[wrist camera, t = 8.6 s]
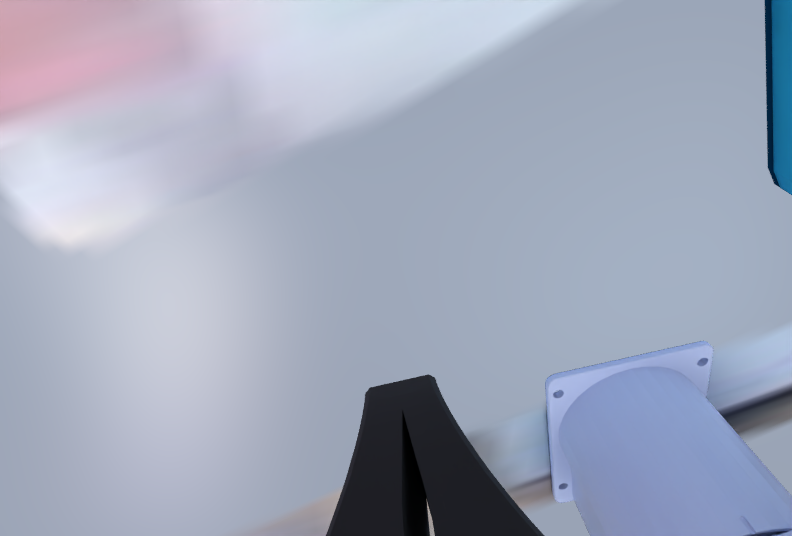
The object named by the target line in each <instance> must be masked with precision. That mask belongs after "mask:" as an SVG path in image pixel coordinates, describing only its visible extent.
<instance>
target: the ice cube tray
mask: <svg viewBox="0 0 792 536" xmlns="http://www.w3.org/2000/svg"><path fill="white" fill-rule="evenodd" d="M765 46H766V47H765V48H766V49H765V50H766V104H767V154H768V155H767V156H768V169H769V172H770V174H771V177H772V179H773V182H774V184H775V185H777V186H778V187H780V188H782V189H783V190H785V191H786V192H788V193H789V194H791V195H792V0H765Z"/></svg>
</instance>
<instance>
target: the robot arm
mask: <svg viewBox="0 0 792 536" xmlns="http://www.w3.org/2000/svg"><path fill="white" fill-rule="evenodd" d="M713 352H714V350H713V347H712V346H711V345H710V344H709V343H708V342H706V341H700V342H695V343H691V344H686V345H682V346H677V347H673V348H668V349H664V350H659V351H655V352H650V353H646V354H641V355H637V356H633V357H628V358H624V359H619V360H615V361H610V362H606V363H601V364H597V365H592V366H588V367H583V368H579V369H574V370H570V371H566V372H561V373H557V374H553V375H551V376H549V377H548V378H547V380H546V382H545V389H546V404H547V418H548V433H549V447H550V462H551V476H552V491H553V496H554V498H555V501H557V502H559V503H565V502H569V501H575V503H576V505H577V508H578V510H579V512H580V514H581V517H582V519H583V521H584V523H585V525H586V528H587V530H588V532H589V534H590V536H792V496H791V495H790V494H789V493H788V491H787V490H786V489H785V488H784V487H783V486H782V485H781V483H780V482H779V481H778V480H777V479H776V477H775V476H774V475H773V474H772V473H771V472H770V471H769V469H768V468H767V467H766V466H765V465H764V464H763V463H762V461H761V460H760V459H759V458H758V457H757V456H756V455H755V453H754V452H753V451H752V450H751V449H750V448H749V447H748V445H747V444H746V443H745V442H744V441H743V440H742V438H741V437H740V436H739V435H738V434H737V433H736V432H735V430H734V429H733V428H732V427H731V426H730V425H729V424H728V422H727V421H726V420H725V419H724V418H723V417H722V416H721V414H720V413H719V412H718V411H717V410H716V409H715V408H714V406H713V405H712V404H711V403H710V402H709V401H708V400H707V392H708V385H709V378H710V372H711V365H712V358H713ZM557 390H559V391H558V392H555V391H557ZM426 498H427V500H426ZM427 502H428V506H429V509H430V513H431V516H432V520H433V526H434V532H435V536H544V535H543V534H542V533H541V532H540V531H539V529H538V528H537V527H536V526H535V525H534V524H533V523H532V522H531V520H530V519H529V518H528V517H527V516H526V515H525V514H524V512H523V511H522V510H521V509H520V508H519V507H518V505H517V504H516V503H515V502H514V501H513V499H512V498H511V497H510V496H509V495H508V493H507V492H506V491H505V489H504V488H503V487H502V486H501V484H500V483H499V482H498V481H497V479H496V478H495V477H494V476H493V474H492V473H491V472H490V470H489V469H488V468H487V466H486V465H485V463H484V462H483V461H482V459H481V458H480V457H479V455H478V454H477V452H476V451H475V449H474V448H473V446H472V445H471V443H470V442H469V441H468V439H467V438H466V436H465V435H464V433H463V432H462V430H461V428H460V427H459V426H458V424H457V422H456V420H455V419H454V417H453V415H452V414H451V412H450V410H449V408H448V406H447V405H446V403H445V401H444V399H443V397H442V395H441V393H440V390H439V388H438V386H437V383H436V380H435V378H434V377H432V376H430V375H425V376H420V377H416V378H411V379H407V380H403V381H398V382H393V383H389V384H384V385H380V386H376V387H371V388H369V390H368V391H367V392H366V394H365V403H364V409H363V415H362V420H361V425H360V429H359V433H358V438H357V441H356V446H355V449H354V453H353V456H352V460H351V463H350V467H349V470H348V474H347V477H346V480H345V483H344V487H343V490H342V493H341V495H340V498H339V501H338V504H337V507H336V509H335V512H334V515H333V518H332V521H331V524H330V526H329V529H328V532H327V534H326V536H430V532H429V521H428V510H427Z"/></svg>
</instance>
